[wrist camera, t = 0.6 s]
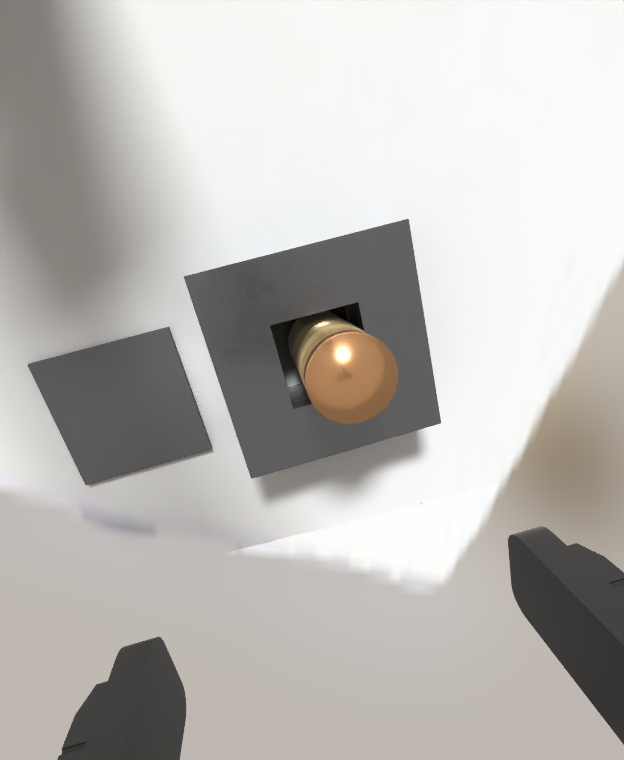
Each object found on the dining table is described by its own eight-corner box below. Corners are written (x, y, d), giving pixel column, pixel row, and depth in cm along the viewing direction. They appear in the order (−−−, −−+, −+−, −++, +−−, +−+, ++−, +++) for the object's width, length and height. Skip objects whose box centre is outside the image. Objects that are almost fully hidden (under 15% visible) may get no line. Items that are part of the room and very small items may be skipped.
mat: (30, 363, 28) (27, 364, 28) (168, 326, 29) (167, 327, 28) (87, 482, 31) (85, 485, 31) (212, 447, 32) (211, 449, 31)
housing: (195, 275, 28) (183, 276, 23) (383, 226, 29) (408, 218, 24) (251, 447, 32) (251, 478, 28) (414, 400, 33) (441, 423, 28)
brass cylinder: (281, 319, 30) (295, 347, 19) (342, 303, 30) (389, 322, 20) (297, 378, 31) (318, 434, 21) (355, 362, 32) (405, 409, 21)
